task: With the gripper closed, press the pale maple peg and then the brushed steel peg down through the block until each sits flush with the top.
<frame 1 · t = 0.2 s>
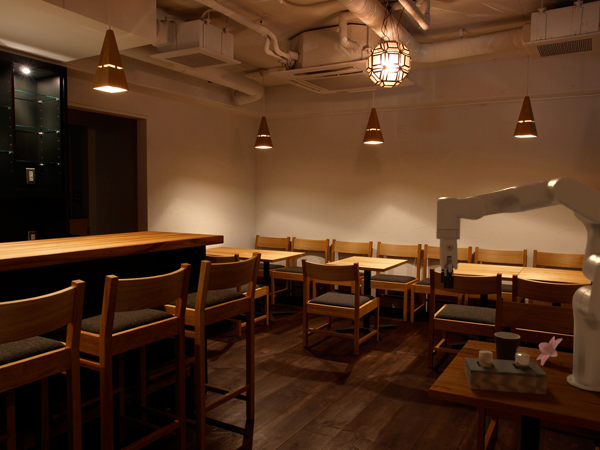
hand: (446, 285, 159), 30 cm above the table, tool pointing down, fingers open, 9 cm apart
coffee mug: (509, 362, 174), on the table
steel peg: (522, 363, 151), point 7 cm above the table, slide at 4.0 cm
maple peg: (485, 360, 153), point 7 cm above the table, slide at 4.0 cm
lily: (548, 363, 173), on the table
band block: (503, 384, 153), on the table
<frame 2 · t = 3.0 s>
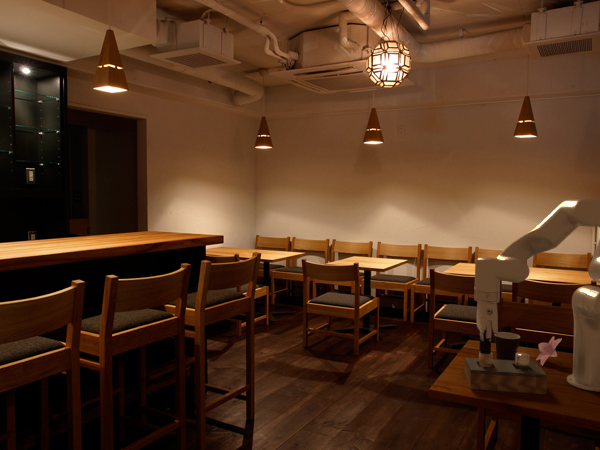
hand: (484, 352, 153), 10 cm above the table, tool pointing down, fingers closed
maple peg: (485, 361, 153), point 7 cm above the table, slide at 3.8 cm, touching gripper
everything else where it was.
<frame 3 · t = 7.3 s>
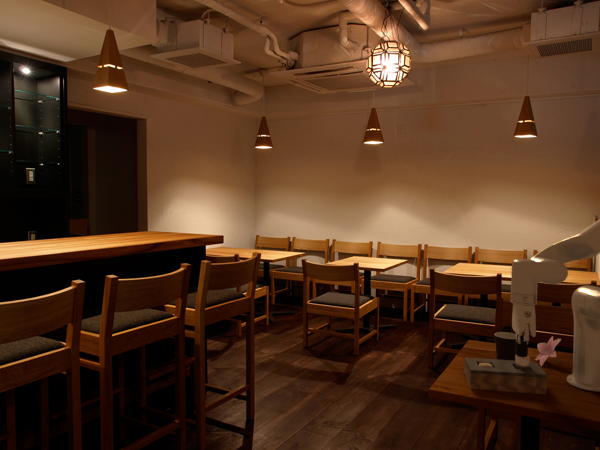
hand: (521, 355, 151), 10 cm above the table, tool pointing down, fingers closed
steel peg: (522, 364, 151), point 7 cm above the table, slide at 3.5 cm, touching gripper
maple peg: (485, 373, 153), point 3 cm above the table, slide at -0.1 cm
everything else where it was.
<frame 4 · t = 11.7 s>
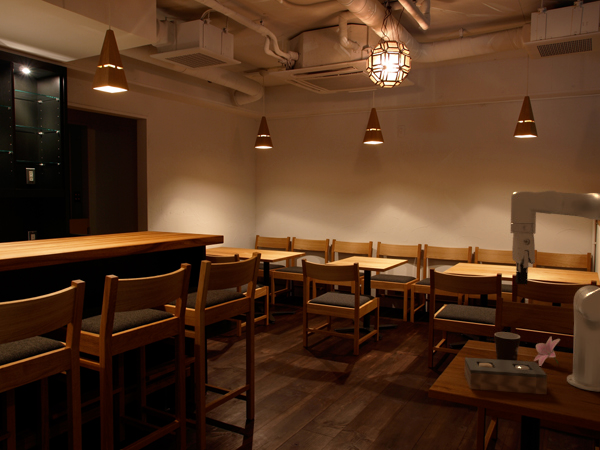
hand: (521, 283, 159), 31 cm above the table, tool pointing down, fingers closed
steel peg: (521, 375, 151), point 3 cm above the table, slide at -0.1 cm
at the end: maple peg slide at -0.1 cm; steel peg slide at -0.1 cm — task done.
